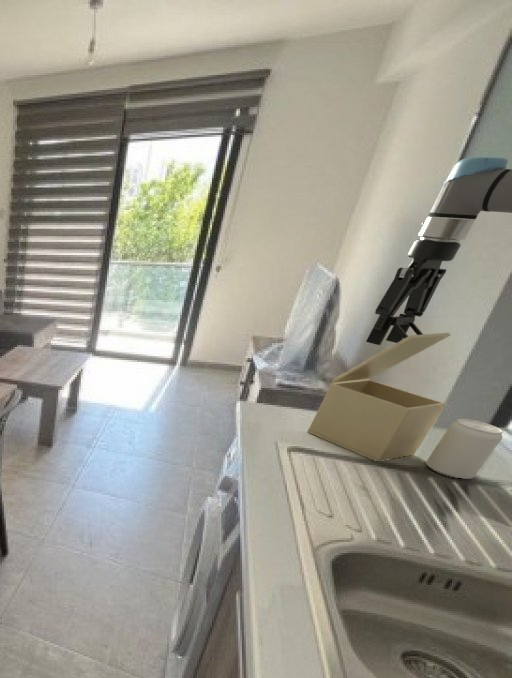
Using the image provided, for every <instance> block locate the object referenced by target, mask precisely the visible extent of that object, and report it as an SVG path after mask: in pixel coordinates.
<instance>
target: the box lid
mask: <svg viewBox="0 0 512 678" xmlns="http://www.w3.org/2000/svg"><path fill="white" fill-rule="evenodd" d="M394 317H395V319H394V321H393V323H392V324H391V326H392V327H393V326H394V327H395V329H396V330H397V331H398V332H399V334H400V335H401V336H402V337H403V340H401V341H400V342H398V343H394V344H392V345H391V346H389V347H387V348H385V349H383V350H382V351H380V352H379V353H377V354H375V355H373V356H371V357H370V358H368V359H366V360H364V361H363V362H361V363H359V364H357V365H356V366H354V367H353V368H351V369H348V370H347V371H345V372H343V373H341V374H340V375H338V376H336V377H335V378H333V379H332V380H331V381H332V383H339V382H348V381H357V380H366V379H369V380H371V379H372V378H374V377H376V376H378V375H380V374H382V373H383V372H385V371H387V370H389V369H391V368H393V367H395V366H396V365H398V364H400V363H402V362H404V361H406V360H408V359H409V358H411V357H414V356H415V355H417V354H419V353H421V352H423V351H424V350H426V349H428V348H430V347H432V346H434V345H437V343H439V342H441V341H443V340H445V339H447V338H449V337H451V334H450V333H449V332H441V333H440V332H439V333H423V332H422V331H421V330H420V329H419V327H418V326H417V325H416V324H415V320H416V317H415V318H414V317H413V316H398V315H397V316H394ZM399 325H409V326H410V327H409V328H411V330H412V331H413V332H414V333H415V334H411V335H408V334H407V332H406V333H405V332H404V330H403V329H402V328H401V327H400V326H399Z"/></svg>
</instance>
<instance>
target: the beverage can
mask: <svg viewBox="0 0 512 678" xmlns="http://www.w3.org/2000/svg"><path fill="white" fill-rule="evenodd" d="M503 433H504V431H503V429H502V428H499V427H498V426H495V425H492V424H489V423H486V422H482V421H479V420H474V419H468V418H459V419H457V420H456V421H454V422H452V423H451V424H450V425H449V427H448V428H447V430H446V431H445V433H444V434H443V436H442V437H441V439H440V440H439V442H437V445H436V446H435V448H434V449H433V451H432V452H431V454H430V456H429V457H428V458H427V460H426V461H425V464H426V466H427V467H429V468H430V469H431V468H432V469H433V470H432V469H431V470H432V471H434V472H435V471H436V472H435V473H437V474H439V475H442V474H443V475H442V476H445V475H446V476H445V477H448V476H449V478H452V477H455V478H454V479H457V478H462V479H461V480H470V479H471V480H472V479H473V478H475V476H476V475H477V474H478V472H479V471H480V469H482V467H483V466H484V464H485V463H486V461H487V460H488V458H490V456H491V455H492V454H493V452H494V450H495V449H496V448H497V446H498V445H499V443H500V442H501V441H502V440H503Z"/></svg>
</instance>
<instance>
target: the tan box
mask: <svg viewBox="0 0 512 678" xmlns="http://www.w3.org/2000/svg"><path fill="white" fill-rule="evenodd" d="M447 404H448V403H445V402H442V401H439V400H437V399H433V398H431V397H427V396H423V395H420V394H418V393H415V392H410V391H408V390H404V389H402V388H397V387H394V386H392V385H388V384H385V383H383V382H379V381H375V380H372V379H363V380H354V381H345V382H336V383H333V382H332V383H331V384H330V386H329V388H328V390H327V392H326V394H325V395H324V398H323V401H322V402H321V403H320V405H319V408H318V410H317V412H316V414H315V416H314V418H313V420H312V421H311V423H310V425H309V427H308V429H307V433H308V434H312V435H314V436H316V437H317V438H321V439H323V440H324V441H328V442H329V443H332V444H334V445H337V446H338V447H341V448H343V449H346V450H348V451H351V452H353V453H355V454H357V455H358V456H359V455H360V456H362V457H364V456H365V457H364V458H366V457H368V458H367V459H369V458H371V459H373V460H376V461H381V462H383V461H382V460H386V461H388V460H387V459H391V460H393V459H392V458H396V459H399V458H398V457H401V458H404V457H403V456H406V457H410V456H409V455H411V456H415V454H416V453H417V451H418V450H419V448H420V447H421V445H422V443H423V442H424V440H425V439H426V437H427V436H428V434H429V433H430V431H431V429H432V428H433V427H434V425H435V423H436V421H438V419H439V417H440V415H442V413H443V411H444V410H445V408H446V406H447ZM371 459H370V460H371ZM373 460H372V461H373ZM376 461H375V462H376Z"/></svg>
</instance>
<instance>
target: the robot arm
mask: <svg viewBox="0 0 512 678" xmlns="http://www.w3.org/2000/svg"><path fill="white" fill-rule="evenodd" d="M508 163H509V160H508V159H507V158H504V157H466V158H463V159H461V160H459V161H457V162H456V164H455V165H454V166H453V168H452V170H451V172H450V173H449V175H448V177H447V178H446V179H445V181H444V182H443V184H442V187H441V189H440V191H439V193H438V195H437V197H436V199H435V201H434V203H433V205H432V208H431V210H430V211H429V213H428V214H427V217H426V218H425V221H423V222H422V223H421V228H420V230H419V232H418V234H417V236H418V237H419V239H416V240H414V241H413V243H412V245H411V247H410V248H409V251H408V253H407V257H409V258H411V259H412V261H411V262H410V263H409V265H408V266H407V267H399V268H398V269H397V270H396V273H395V275H394V278H393V280H392V281H391V283H390V285H389V287H388V288H387V290H386V291H385V293H384V295H383V297H382V298H381V300H380V302H379V303H378V305H377V307H376V308H375V311H374V314H375V315H379V316H378V318H377V320H376V322H375V324H374V325H373V327H372V329H371V331H370V333H369V335H368V336H367V339H366V341H365V342H366V343H369V344H373V345H376V346H380V345H382V343H383V341H384V339H385V337H386V335H387V333H388V332H389V333H388V335H387V337H386V339H385V341H386V342H389V343H390V342H391V343H394V344H396V343H398V342H400V341H401V340H403V337H402V336H401V335H400V334H399V332H398V331H397V330H396V329H395V327H394V326H393V325H391V324H392V323H393V321H394V319H395V317H396V316H394V315H396V313H397V312H398V311H399V309H400V308H401V306H402V305H403V304H404V303H405V301H406V300H407V301H406V304H405V307H404V311H403V313H400V314H399V316H413V317H414V318H415V319H416V317H422V316H423V315H424V313H425V312H426V310H427V309H428V306H429V304H430V302H431V299H432V298H433V296H434V294H435V292H436V290H437V288H438V286H439V284H440V282H441V280H442V279H443V277H445V274H446V273H447V269H446V268H441V266H442V262H450V261H453V260H454V258H455V257H456V255H457V253H458V251H459V249H460V248H461V246H462V245H461V243H460V241H464V240H465V239H466V238H467V236H468V234H469V232H471V231H470V230H471V229H472V227H473V225H474V223H475V221H476V220H477V218H478V216H479V214H480V213H481V212H486V213H489V212H490V213H491V212H492V213H493V212H494V213H509V214H512V169H511V168H507V165H508ZM399 326H400V327H401V328H402V329H403V330H404V332H405V333H406V334H407V332H408V331H409V329H410V328H411V327H410V326H409V325H399ZM391 327H392V328H391ZM390 328H391V330H390ZM389 330H390V331H389Z"/></svg>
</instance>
